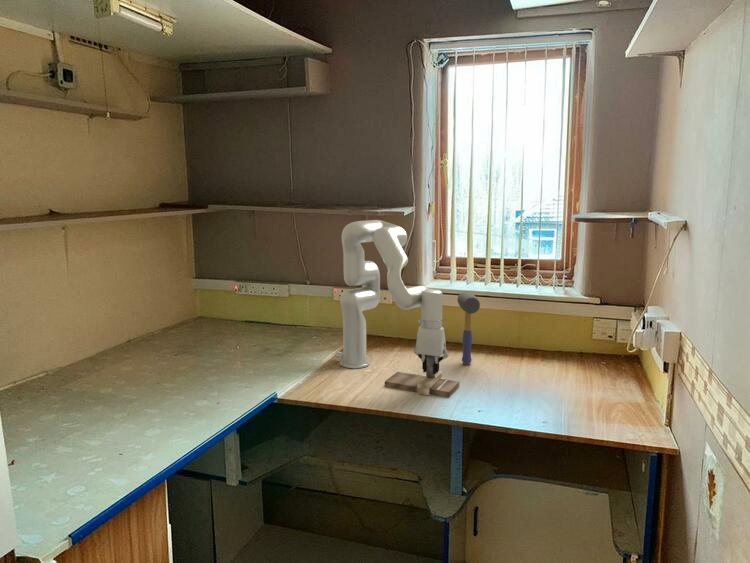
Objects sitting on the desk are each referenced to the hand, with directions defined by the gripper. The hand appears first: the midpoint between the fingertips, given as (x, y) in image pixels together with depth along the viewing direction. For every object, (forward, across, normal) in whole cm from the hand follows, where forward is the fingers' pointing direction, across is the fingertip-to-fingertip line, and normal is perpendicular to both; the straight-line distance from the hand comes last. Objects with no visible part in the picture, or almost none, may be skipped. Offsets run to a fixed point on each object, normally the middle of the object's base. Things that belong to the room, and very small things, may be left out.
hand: (430, 371), depth 210 cm
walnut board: (+6, -3, 0) cm, 7 cm away
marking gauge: (+6, 0, 0) cm, 6 cm away
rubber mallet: (+6, +4, +32) cm, 33 cm away
